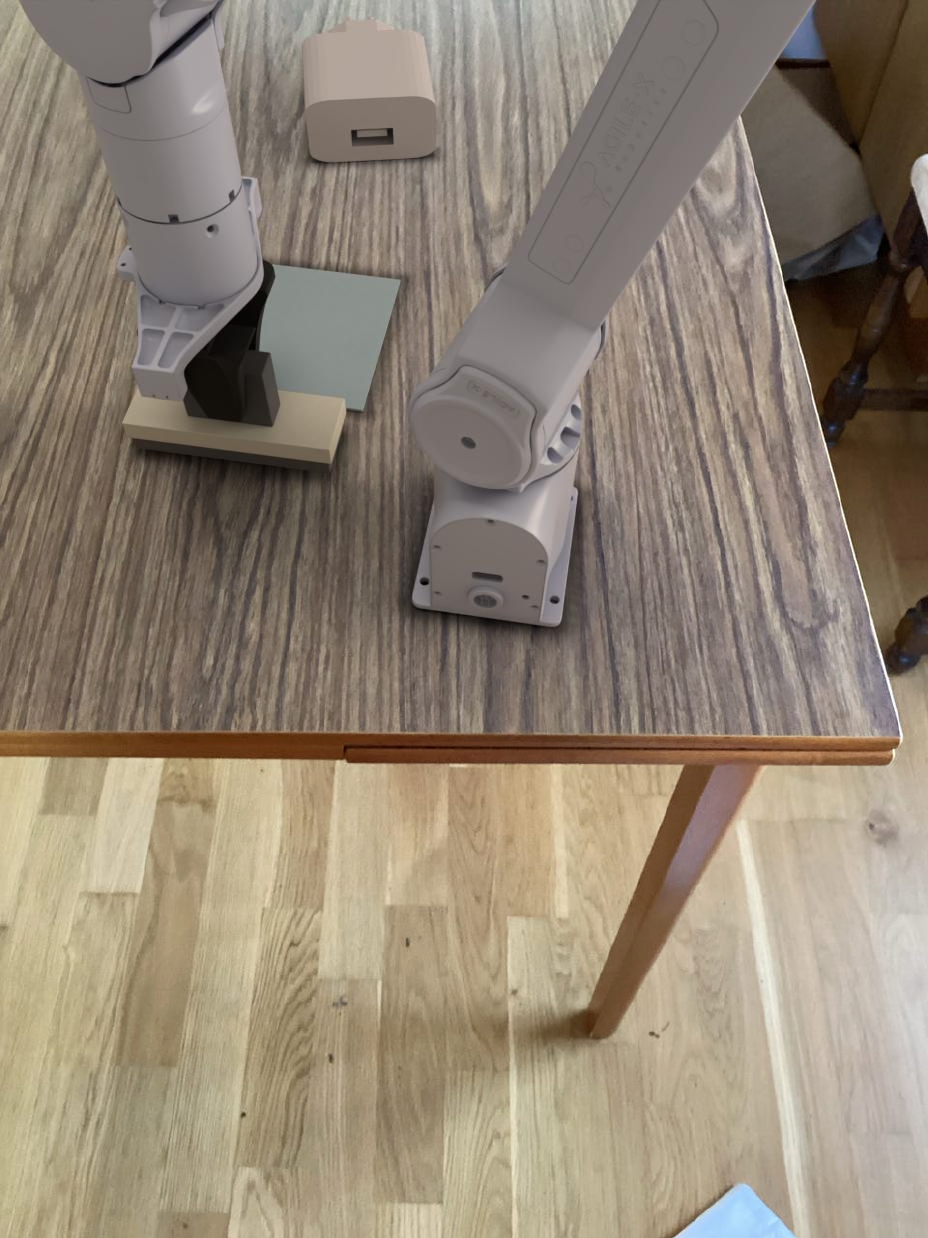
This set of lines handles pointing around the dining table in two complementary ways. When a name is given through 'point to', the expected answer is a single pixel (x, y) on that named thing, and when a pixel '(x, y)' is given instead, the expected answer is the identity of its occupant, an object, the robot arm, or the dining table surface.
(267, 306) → the mat
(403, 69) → the charger
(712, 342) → the dining table surface
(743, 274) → the dining table surface
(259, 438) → the brush
